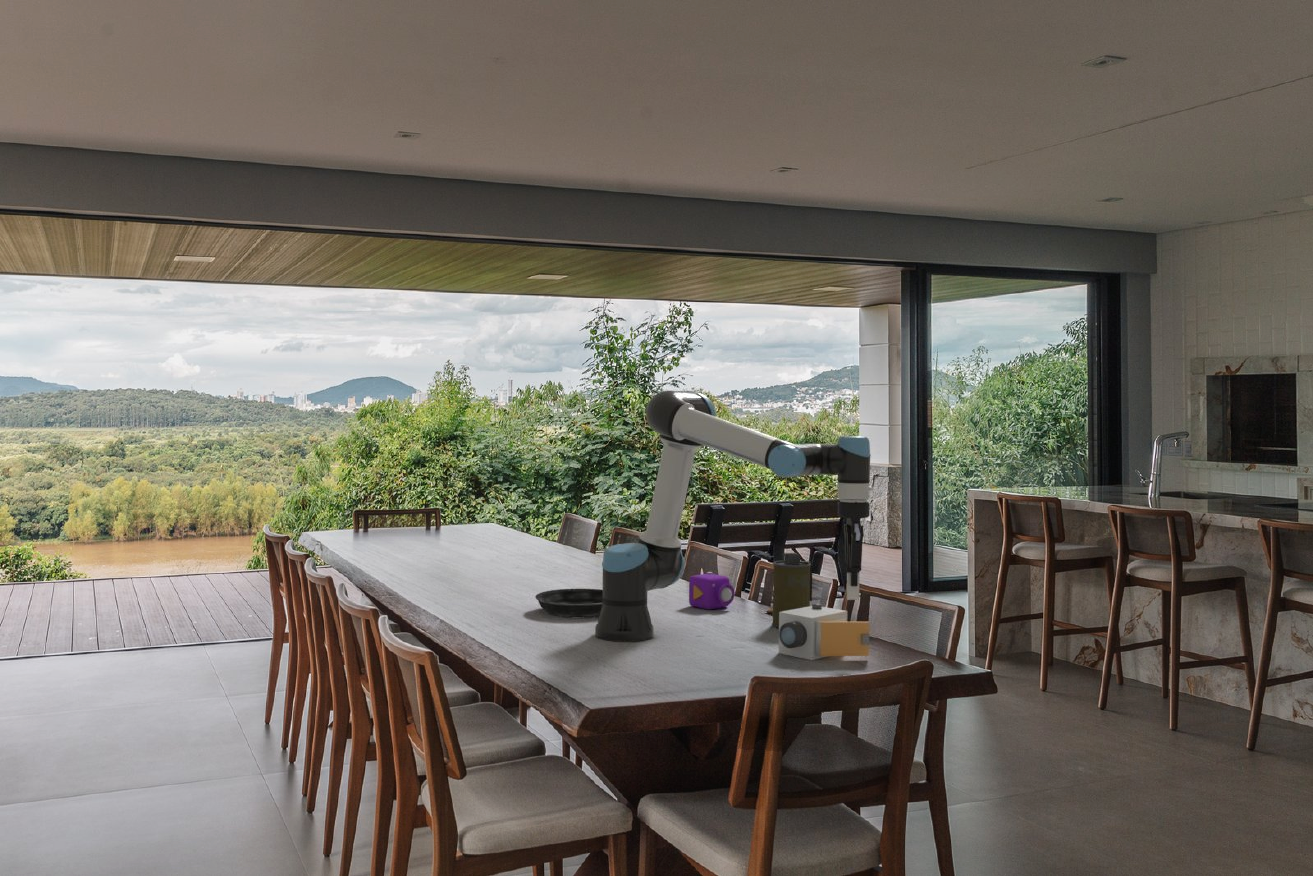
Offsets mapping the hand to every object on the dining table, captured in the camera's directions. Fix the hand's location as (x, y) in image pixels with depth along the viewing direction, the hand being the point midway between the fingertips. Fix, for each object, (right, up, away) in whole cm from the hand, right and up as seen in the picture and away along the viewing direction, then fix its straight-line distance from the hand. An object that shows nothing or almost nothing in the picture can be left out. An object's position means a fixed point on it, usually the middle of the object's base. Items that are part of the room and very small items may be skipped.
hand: (852, 599), depth 255 cm
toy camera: (-30, -13, +64) cm, 72 cm away
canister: (-10, -13, +38) cm, 41 cm away
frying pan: (-65, -12, +59) cm, 89 cm away
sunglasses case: (-9, -14, +51) cm, 54 cm away
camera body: (-10, -14, +4) cm, 18 cm away
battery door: (-3, -13, -3) cm, 14 cm away
